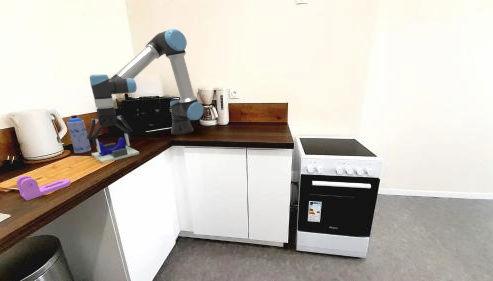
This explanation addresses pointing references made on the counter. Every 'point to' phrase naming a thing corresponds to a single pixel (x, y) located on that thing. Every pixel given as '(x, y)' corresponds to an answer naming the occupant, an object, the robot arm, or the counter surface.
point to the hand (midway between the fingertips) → (114, 148)
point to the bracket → (32, 190)
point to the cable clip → (109, 151)
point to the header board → (107, 157)
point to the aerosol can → (78, 135)
